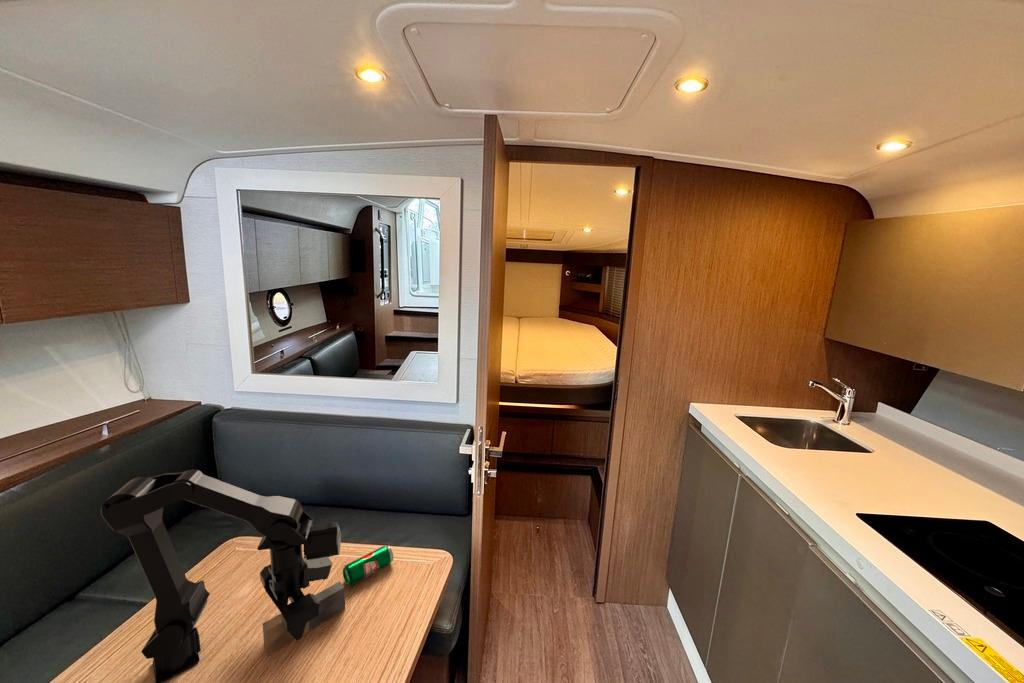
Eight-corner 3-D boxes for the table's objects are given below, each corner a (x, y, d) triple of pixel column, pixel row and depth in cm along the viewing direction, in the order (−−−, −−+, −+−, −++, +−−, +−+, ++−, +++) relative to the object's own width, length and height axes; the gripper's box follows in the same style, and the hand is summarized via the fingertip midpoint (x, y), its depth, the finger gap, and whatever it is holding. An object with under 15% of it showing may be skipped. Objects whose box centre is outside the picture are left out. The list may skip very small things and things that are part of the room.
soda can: (350, 574, 95) (394, 550, 104) (341, 562, 98) (385, 540, 107) (350, 591, 96) (394, 566, 105) (341, 578, 100) (385, 555, 108)
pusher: (267, 656, 79) (266, 631, 78) (264, 648, 81) (262, 623, 80) (345, 609, 91) (344, 587, 90) (340, 603, 92) (339, 581, 91)
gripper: (344, 564, 80) (347, 628, 83) (310, 523, 92) (313, 580, 95) (285, 595, 72) (290, 665, 75) (257, 545, 84) (261, 607, 87)
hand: (291, 624), depth 83 cm, fingers open, 9 cm apart
